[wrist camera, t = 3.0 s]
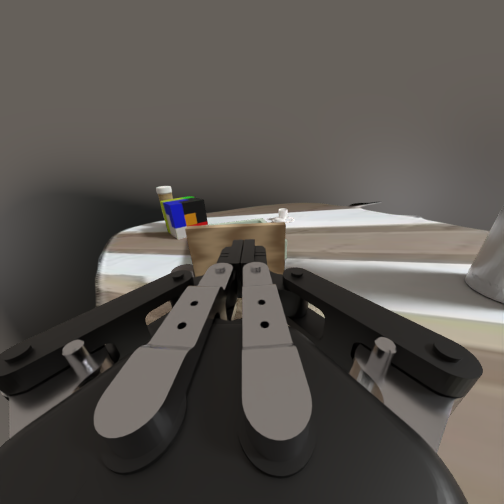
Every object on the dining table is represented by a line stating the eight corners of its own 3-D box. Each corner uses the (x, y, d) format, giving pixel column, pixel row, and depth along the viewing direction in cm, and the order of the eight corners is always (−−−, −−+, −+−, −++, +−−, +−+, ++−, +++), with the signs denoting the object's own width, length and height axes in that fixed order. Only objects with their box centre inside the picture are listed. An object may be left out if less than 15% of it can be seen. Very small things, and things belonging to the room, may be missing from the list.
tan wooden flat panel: (172, 292, 30) (154, 233, 25) (180, 279, 33) (165, 224, 28) (284, 289, 29) (286, 227, 24) (282, 276, 32) (283, 219, 28)
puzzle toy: (178, 239, 55) (169, 205, 50) (167, 231, 62) (159, 201, 57) (208, 231, 60) (203, 199, 56) (196, 224, 67) (190, 196, 63)
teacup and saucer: (279, 226, 62) (280, 214, 60) (265, 221, 68) (265, 210, 66) (299, 221, 66) (299, 209, 64) (283, 216, 72) (284, 206, 70)
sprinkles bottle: (167, 224, 69) (158, 186, 63) (180, 223, 70) (171, 185, 64) (164, 228, 65) (153, 187, 59) (178, 226, 66) (168, 186, 60)
